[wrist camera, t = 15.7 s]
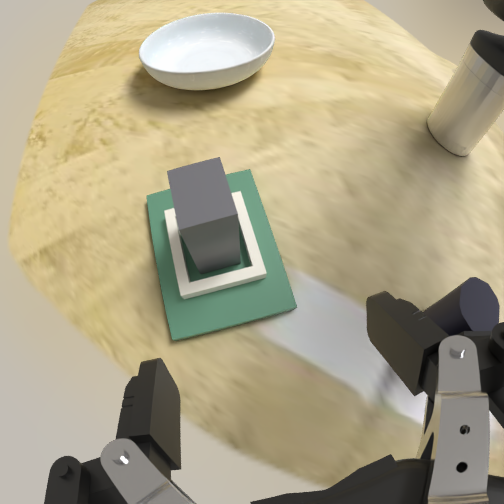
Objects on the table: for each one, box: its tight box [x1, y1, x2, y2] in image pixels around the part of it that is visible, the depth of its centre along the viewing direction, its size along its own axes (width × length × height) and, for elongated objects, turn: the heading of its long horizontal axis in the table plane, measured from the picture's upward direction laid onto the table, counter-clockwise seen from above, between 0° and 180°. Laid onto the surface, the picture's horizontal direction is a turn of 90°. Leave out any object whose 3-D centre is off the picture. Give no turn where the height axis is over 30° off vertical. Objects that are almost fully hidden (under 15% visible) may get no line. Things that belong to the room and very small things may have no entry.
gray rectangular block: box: [167, 157, 241, 274], centre depth 25 cm, size 5×4×10 cm
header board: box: [147, 169, 297, 341], centre depth 29 cm, size 16×12×3 cm
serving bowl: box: [139, 13, 275, 90], centre depth 39 cm, size 21×21×7 cm
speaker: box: [423, 277, 499, 342], centre depth 23 cm, size 8×6×10 cm
